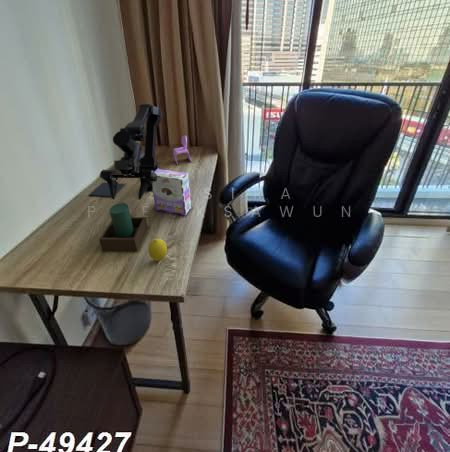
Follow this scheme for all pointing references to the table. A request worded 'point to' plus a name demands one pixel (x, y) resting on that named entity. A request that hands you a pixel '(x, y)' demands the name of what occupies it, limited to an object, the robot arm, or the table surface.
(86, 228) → the table surface
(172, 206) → the candy box
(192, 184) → the table surface
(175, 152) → the toy chair
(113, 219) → the tea tin
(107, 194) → the mat
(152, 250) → the lemon
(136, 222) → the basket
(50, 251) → the table surface
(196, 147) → the table surface
